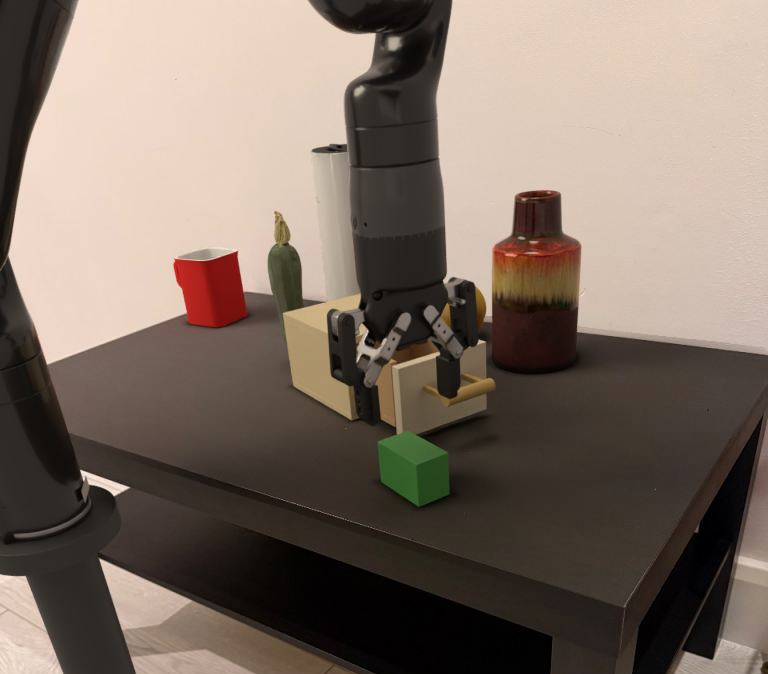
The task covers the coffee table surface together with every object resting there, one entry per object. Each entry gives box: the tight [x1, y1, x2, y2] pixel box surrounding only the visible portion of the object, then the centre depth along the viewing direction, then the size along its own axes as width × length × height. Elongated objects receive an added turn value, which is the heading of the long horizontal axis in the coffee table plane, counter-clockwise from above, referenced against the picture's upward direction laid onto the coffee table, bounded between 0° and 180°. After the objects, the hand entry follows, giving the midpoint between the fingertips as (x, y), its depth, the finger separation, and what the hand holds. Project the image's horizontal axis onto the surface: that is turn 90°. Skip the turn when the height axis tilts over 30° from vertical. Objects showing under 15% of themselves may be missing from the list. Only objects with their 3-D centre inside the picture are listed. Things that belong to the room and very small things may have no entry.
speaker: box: [310, 143, 361, 302], centre depth 109 cm, size 11×10×26 cm
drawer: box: [356, 339, 496, 435], centre depth 85 cm, size 18×11×8 cm, turn 34°
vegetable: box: [267, 210, 305, 349], centre depth 101 cm, size 4×4×20 cm
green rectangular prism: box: [377, 431, 451, 508], centre depth 72 cm, size 6×4×4 cm, turn 34°
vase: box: [491, 189, 583, 374], centre depth 96 cm, size 11×11×20 cm
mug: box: [172, 246, 248, 328], centre depth 126 cm, size 12×8×11 cm
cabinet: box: [283, 294, 366, 421], centre depth 94 cm, size 15×13×10 cm
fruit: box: [441, 281, 487, 332], centre depth 108 cm, size 9×8×8 cm
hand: (410, 409), depth 70 cm, fingers open, 8 cm apart
